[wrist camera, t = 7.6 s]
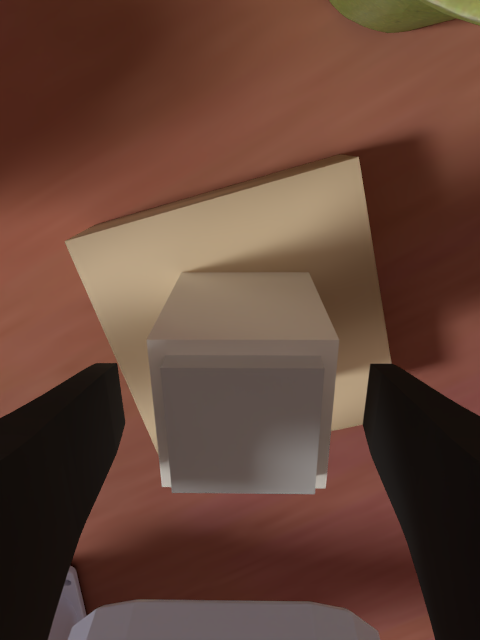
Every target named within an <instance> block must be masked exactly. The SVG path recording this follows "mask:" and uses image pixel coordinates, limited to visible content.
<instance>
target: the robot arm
mask: <svg viewBox="0 0 480 640" xmlns="http://www.w3.org/2000/svg"><path fill="white" fill-rule="evenodd" d="M124 426H125V418H124V410H123V403H122V396H121V388H120V381H119V374H118V367H117V363H96V364H94V365H91V366H89V367H88V368H86V369H84V370H82V371H81V372H79V373H77V374H76V375H74V376H73V377H71V378H69V379H68V380H66V381H64V382H63V383H61V384H60V385H58V386H56V387H55V388H53V389H51V390H50V391H48V392H47V393H45V394H43V395H42V396H40V397H38V398H36V399H35V400H33V401H31V402H29V403H27V404H26V405H24V406H22V407H20V408H19V409H17V410H15V411H13V412H11V413H10V414H8V415H6V416H4V417H2V418H0V640H380V637H379V633H378V631H377V630H376V629H374V628H373V627H372V626H370V625H369V624H368V623H366V622H365V621H363V620H362V619H361V618H359V617H358V616H357V615H355V614H354V613H353V612H351V611H349V610H348V609H346V608H342V607H336V606H331V605H326V604H321V603H316V602H310V601H234V600H154V599H137V600H131V601H125V602H119V603H113V604H108V605H103V606H101V607H99V608H97V609H95V610H94V611H93V612H91V613H90V614H89V615H86V611H85V607H84V602H83V598H82V594H81V589H80V585H79V581H78V576H77V572H76V570H75V568H74V567H72V566H70V565H71V562H72V559H73V556H74V553H75V550H76V547H77V544H78V541H79V538H80V535H81V533H82V530H83V528H84V525H85V523H86V520H87V518H88V516H89V514H90V512H91V509H92V507H93V505H94V503H95V501H96V498H97V496H98V494H99V492H100V490H101V487H102V485H103V483H104V481H105V479H106V476H107V474H108V472H109V469H110V467H111V465H112V463H113V460H114V458H115V456H116V453H117V450H118V447H119V444H120V440H121V437H122V433H123V429H124ZM363 427H364V431H365V435H366V439H367V443H368V446H369V450H370V453H371V456H372V459H373V461H374V463H375V466H376V468H377V471H378V473H379V475H380V478H381V480H382V483H383V485H384V487H385V490H386V492H387V494H388V497H389V499H390V501H391V504H392V506H393V508H394V511H395V513H396V515H397V518H398V520H399V522H400V525H401V527H402V530H403V533H404V535H405V538H406V540H407V543H408V547H409V550H410V553H411V556H412V560H413V563H414V566H415V569H416V573H417V576H418V579H419V583H420V586H421V590H422V593H423V597H424V600H425V604H426V607H427V611H428V614H429V618H430V621H431V625H432V629H433V632H434V636H435V640H480V416H478V415H476V414H475V413H473V412H471V411H469V410H468V409H466V408H464V407H462V406H460V405H459V404H457V403H455V402H454V401H452V400H450V399H449V398H447V397H445V396H444V395H442V394H441V393H439V392H437V391H436V390H434V389H433V388H431V387H429V386H428V385H426V384H425V383H423V382H422V381H420V380H419V379H417V378H416V377H414V376H412V375H411V374H409V373H408V372H406V371H405V370H403V369H401V368H399V367H398V366H396V365H394V364H370V370H369V378H368V386H367V394H366V402H365V410H364V418H363Z"/></svg>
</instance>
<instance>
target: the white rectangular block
mask: <svg viewBox="0 0 480 640" xmlns="http://www.w3.org/2000/svg"><path fill="white" fill-rule="evenodd" d="M338 348H339V338H338V336H337V334H336V332H335V329H334V327H333V325H332V323H331V321H330V318H329V316H328V314H327V312H326V309H325V307H324V305H323V303H322V301H321V298H320V296H319V294H318V292H317V290H316V287H315V285H314V283H313V281H312V278H311V276H310V274H309V272H181V274H180V276H179V278H178V280H177V282H176V284H175V286H174V288H173V290H172V292H171V294H170V296H169V297H168V299H167V301H166V303H165V305H164V307H163V309H162V311H161V313H160V315H159V317H158V319H157V321H156V322H155V324H154V326H153V328H152V330H151V332H150V334H149V336H148V338H147V349H148V358H149V368H150V377H151V387H152V396H153V406H154V415H155V425H156V434H157V444H158V453H159V463H160V472H161V482H162V487H171V488H172V493H256V494H315V488H326V479H327V468H328V457H329V446H330V435H331V425H332V414H333V403H334V392H335V381H336V370H337V359H338Z"/></svg>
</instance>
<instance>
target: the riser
mask: <svg viewBox="0 0 480 640" xmlns="http://www.w3.org/2000/svg"><path fill="white" fill-rule="evenodd" d="M65 244H66V246H67V248H68V250H69V253H70V255H71V257H72V259H73V262H74V264H75V266H76V269H77V271H78V273H79V275H80V278H81V280H82V282H83V285H84V287H85V289H86V291H87V294H88V296H89V298H90V300H91V303H92V305H93V307H94V310H95V312H96V314H97V316H98V319H99V321H100V323H101V325H102V328H103V330H104V332H105V335H106V337H107V339H108V341H109V344H110V346H111V348H112V351H113V353H114V355H115V357H116V360H117V362H118V364H119V366H120V369H121V371H122V373H123V376H124V378H125V380H126V382H127V385H128V387H129V389H130V391H131V394H132V396H133V398H134V401H135V403H136V405H137V407H138V410H139V412H140V414H141V417H142V419H143V421H144V423H145V426H146V428H147V430H148V432H149V435H150V437H151V439H152V442H153V444H154V446H155V448H156V451H157V453H158V444H157V434H156V425H155V415H154V406H153V396H152V387H151V377H150V368H149V358H148V349H147V338H148V336H149V334H150V332H151V330H152V328H153V326H154V324H155V322H156V321H157V319H158V317H159V315H160V313H161V311H162V309H163V307H164V305H165V303H166V301H167V299H168V297H169V296H170V294H171V292H172V290H173V288H174V286H175V284H176V282H177V280H178V278H179V276H180V274H181V272H309V274H310V276H311V278H312V281H313V283H314V285H315V287H316V290H317V292H318V294H319V296H320V298H321V301H322V303H323V305H324V307H325V309H326V312H327V314H328V316H329V318H330V321H331V323H332V325H333V327H334V329H335V332H336V334H337V336H338V338H339V348H338V359H337V370H336V381H335V392H334V403H333V414H332V425H331V431H333V430H338V429H343V428H348V427H353V426H357V425H362V424H363V418H364V410H365V402H366V394H367V386H368V378H369V370H370V364H391V357H390V351H389V345H388V338H387V332H386V326H385V319H384V313H383V307H382V300H381V294H380V288H379V281H378V275H377V269H376V262H375V256H374V250H373V244H372V237H371V231H370V225H369V218H368V212H367V206H366V199H365V193H364V187H363V180H362V174H361V168H360V161H359V157H355V156H348V155H341V154H339V155H336V156H332V157H329V158H325V159H322V160H318V161H315V162H311V163H308V164H304V165H301V166H298V167H294V168H291V169H287V170H284V171H280V172H277V173H273V174H270V175H266V176H263V177H259V178H256V179H253V180H249V181H246V182H242V183H239V184H235V185H232V186H228V187H225V188H221V189H218V190H214V191H211V192H207V193H204V194H201V195H197V196H194V197H190V198H187V199H183V200H180V201H176V202H173V203H169V204H166V205H162V206H159V207H156V208H152V209H149V210H145V211H142V212H138V213H135V214H131V215H128V216H124V217H121V218H117V219H114V220H111V221H107V222H104V223H100V224H97V225H94V226H92V227H90V228H88V229H86V230H85V231H83V232H81V233H79V234H77V235H75V236H73V237H72V238H70V239H68V240H66V241H65ZM158 455H159V453H158Z"/></svg>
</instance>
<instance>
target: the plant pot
mask: <svg viewBox="0 0 480 640" xmlns="http://www.w3.org/2000/svg"><path fill="white" fill-rule="evenodd" d="M329 1H330V2H331V4H332V5H333V6H334V7H335V8H336V9H337V10H338V11H339V12H340V13H341V14H342V15H344V16H345V17H346V18H348V19H350V20H352V21H354V22H356V23H358V24H360V25H362V26H364V27H367V28H370V29H373V30H377V31H381V32H386V33H396V32H405V31H410V30H414V29H418V28H421V27H425V26H429V25H433V24H437V23H441V22H445V21H449V20H452V19H456V18H458V19H461V20H464V21H467V22H470V23H473V24H476V25H479V26H480V0H329Z"/></svg>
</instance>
